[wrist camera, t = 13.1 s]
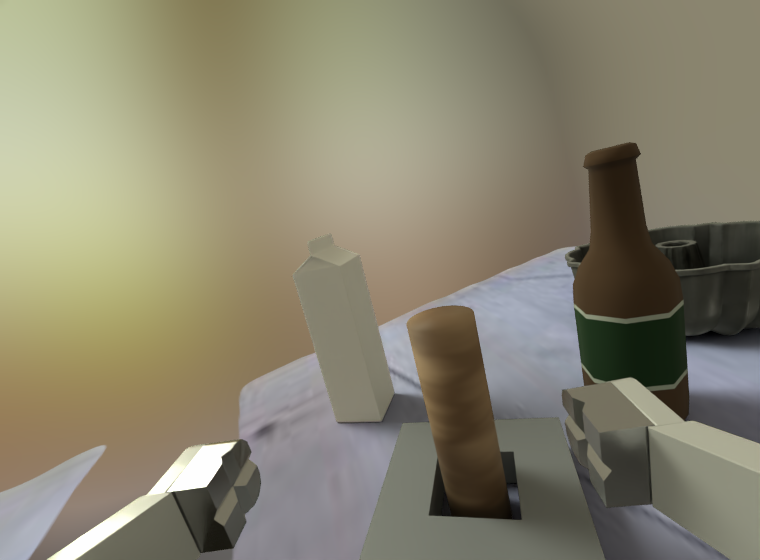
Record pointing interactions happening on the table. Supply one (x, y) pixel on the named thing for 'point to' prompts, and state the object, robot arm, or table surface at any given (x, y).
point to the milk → (344, 332)
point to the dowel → (460, 411)
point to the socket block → (483, 535)
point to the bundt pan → (710, 273)
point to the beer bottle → (628, 289)
